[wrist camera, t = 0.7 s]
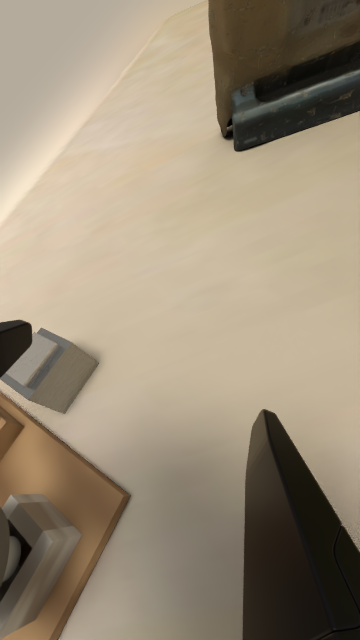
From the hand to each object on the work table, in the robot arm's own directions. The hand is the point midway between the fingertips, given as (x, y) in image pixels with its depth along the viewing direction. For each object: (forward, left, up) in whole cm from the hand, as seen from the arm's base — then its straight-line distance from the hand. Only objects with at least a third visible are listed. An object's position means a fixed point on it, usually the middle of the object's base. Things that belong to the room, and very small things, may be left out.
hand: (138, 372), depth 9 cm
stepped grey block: (-2, +17, -15) cm, 22 cm away
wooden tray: (-13, +15, -15) cm, 25 cm away
